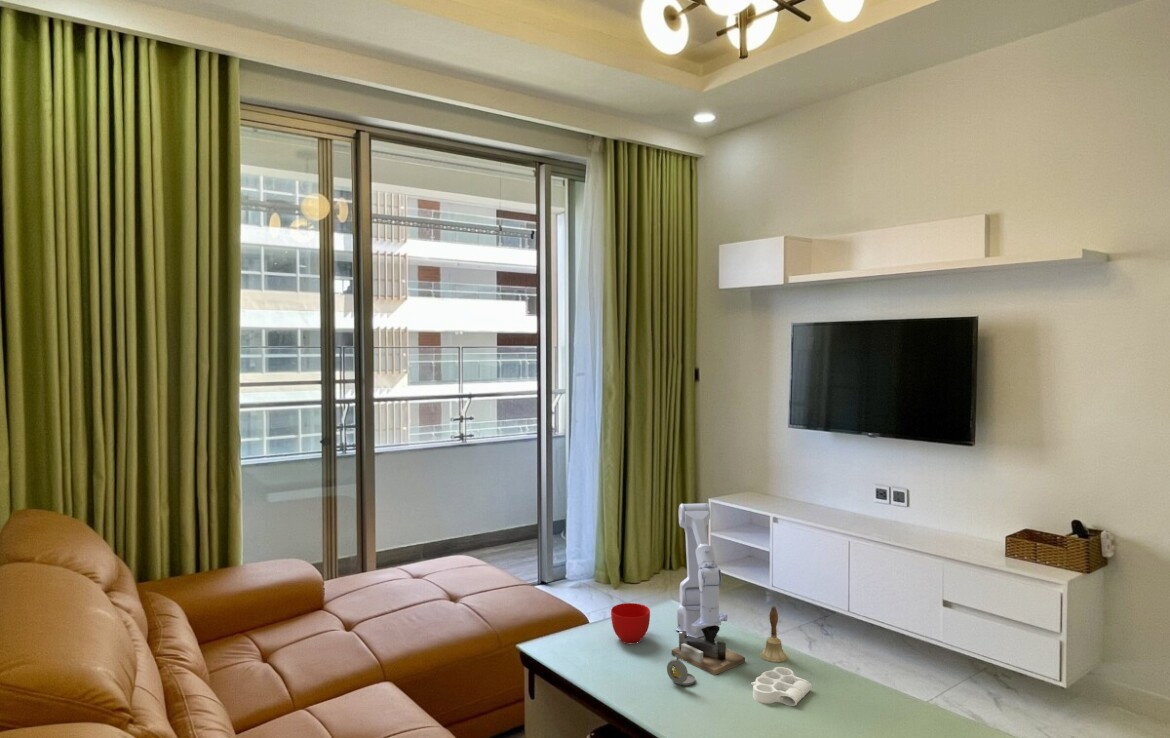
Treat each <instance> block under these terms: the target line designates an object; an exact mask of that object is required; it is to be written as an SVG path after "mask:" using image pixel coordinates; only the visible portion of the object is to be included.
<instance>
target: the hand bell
mask: <svg viewBox="0 0 1170 738" xmlns="http://www.w3.org/2000/svg"><path fill="white" fill-rule="evenodd" d="M778 620H779V613H778V610H777V607H776V606H775V605H772V606H771V608H770V612H769V623H770V636H769V637H767V638H766V642H765V647H764V648H763V650H762V651H760V653H759V656H760V658H761V659H762V660H764V661H766V660H767V661H766V662H770V663H783V662H786V661H787V660H788V655H787V654H786V653H785V652H784V649H783V645H782V640H781V639H780V638H779V637H777V632H778V631H777V625H778V622H779V621H778Z"/></svg>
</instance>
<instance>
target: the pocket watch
mask: <svg viewBox="0 0 1170 738" xmlns="http://www.w3.org/2000/svg"><path fill="white" fill-rule="evenodd" d="M674 653H675V652H673V654H674ZM676 653H678V652H676ZM678 654H679V653H678ZM678 654H677V655H675V654H674V655H675V656H674V655H673V656H674V657H675V658H673V659H671V660H669V661H668V663H667V665H666V672H667V675H668V677H669V679H671V681H672V682H674V684H677V685H680V686H689V685H692V684H694V683H695V681H696V677H695V675H693V674H692V673H688V672H689V671H688V669H687V666H686V665H685V664H684V663H683V661H681V660H680V658H679V657H681V655H680V654H679V655H680V656H678Z"/></svg>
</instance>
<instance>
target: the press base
mask: <svg viewBox="0 0 1170 738" xmlns="http://www.w3.org/2000/svg"><path fill="white" fill-rule="evenodd" d="M700 639H703V640H705V638H702V637H700ZM673 652H675V653H674V654H675V655H677V654H678V653H679V654H680V655H681V657H679V658H678V659H680V658H681V660H682V659H683V660H682V661H684V662H686V661H687V662H686V663H688V664H690V663H691V665H692V666H695V667H697V668H698V669H701V670H703V671H705V672H707V673H709V674H711V675H713V676H716V675H719V674H721V673H723V672H725V671H728V670H730V669H732V668H734V667H737V666H739V664H740V665H742V664H744V663H746V657H745V656H743V655H742V654H739V653H737V652H734V651H732V650H730V649H728V648H726V659H725V660H719V659H717V658H713V657H709V656H705V655H703V652H702V651H700V650H698V649H696V648H694V647H691V646H689V645H687V644H685V643H683V644H681V650H680V649H679V646H678V647H675V648H673V649H671V655H672V654H673ZM676 652H678V653H676ZM674 654H673V655H672V656H674ZM679 654H678V656H680V655H679Z"/></svg>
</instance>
